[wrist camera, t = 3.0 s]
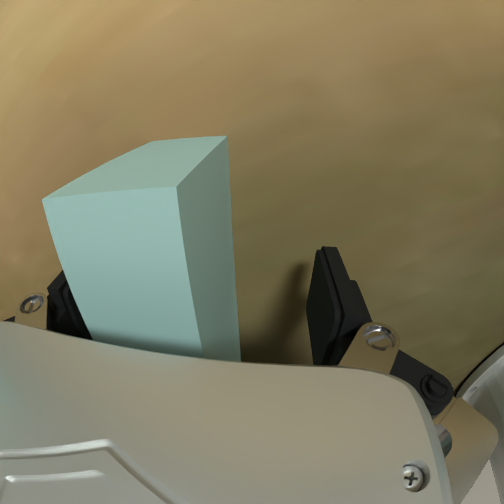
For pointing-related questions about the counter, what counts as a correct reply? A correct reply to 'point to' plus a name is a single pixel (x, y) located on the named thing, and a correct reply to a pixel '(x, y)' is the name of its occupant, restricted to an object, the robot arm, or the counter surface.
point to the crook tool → (153, 248)
